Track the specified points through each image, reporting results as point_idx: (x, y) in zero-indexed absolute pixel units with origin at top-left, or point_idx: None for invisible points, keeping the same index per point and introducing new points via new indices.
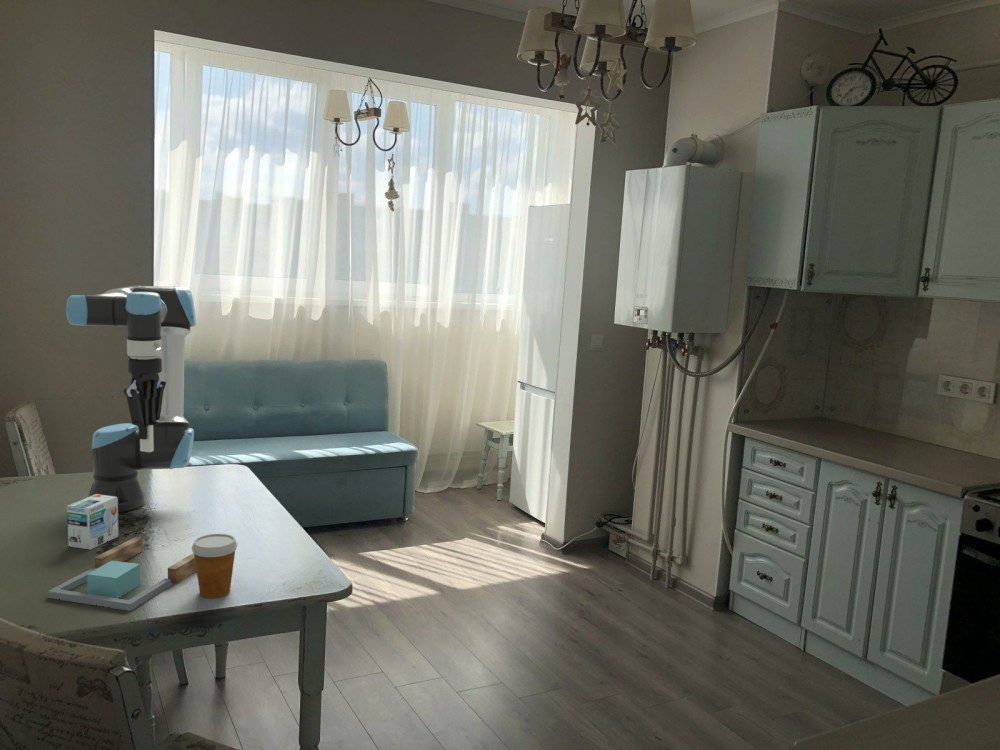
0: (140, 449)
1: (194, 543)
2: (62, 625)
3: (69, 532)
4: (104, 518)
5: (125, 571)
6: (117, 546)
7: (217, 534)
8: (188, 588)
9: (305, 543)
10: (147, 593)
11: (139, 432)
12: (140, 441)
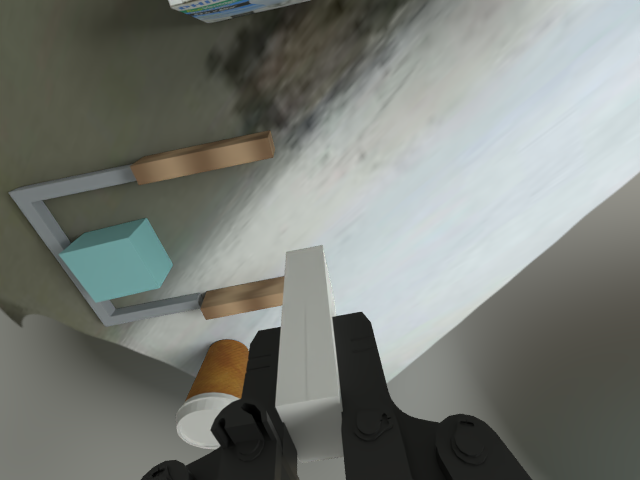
0: (286, 260)
1: (179, 421)
2: (9, 286)
3: None
4: (254, 1)
5: (122, 293)
6: (202, 153)
7: None
8: (214, 323)
9: (439, 336)
10: (144, 318)
11: (244, 382)
12: (285, 293)
